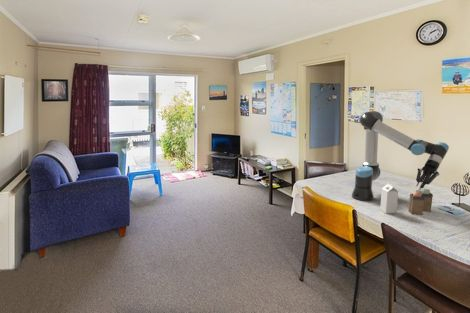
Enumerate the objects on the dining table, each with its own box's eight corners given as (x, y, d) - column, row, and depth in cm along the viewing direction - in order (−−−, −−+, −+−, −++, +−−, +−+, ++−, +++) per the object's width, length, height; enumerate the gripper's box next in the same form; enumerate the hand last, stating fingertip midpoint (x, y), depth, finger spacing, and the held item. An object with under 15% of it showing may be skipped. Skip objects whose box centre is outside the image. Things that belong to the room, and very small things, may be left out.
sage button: (420, 194, 196) (420, 188, 195) (427, 194, 195) (428, 189, 194) (422, 196, 191) (423, 190, 191) (430, 196, 190) (431, 191, 190)
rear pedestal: (416, 207, 199) (418, 191, 197) (427, 208, 197) (429, 191, 195) (419, 211, 193) (421, 194, 190) (430, 212, 191) (432, 194, 189)
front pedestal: (408, 210, 194) (410, 193, 192) (419, 211, 192) (421, 194, 190) (411, 214, 188) (413, 196, 186) (422, 215, 186) (424, 197, 184)
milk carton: (390, 209, 197) (392, 182, 193) (396, 213, 190) (399, 185, 186) (380, 209, 197) (382, 182, 193) (385, 213, 190) (388, 185, 186)
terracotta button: (411, 197, 191) (412, 191, 190) (419, 197, 190) (420, 191, 189) (414, 199, 187) (414, 193, 186) (422, 199, 185) (422, 193, 185)
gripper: (445, 168, 188) (429, 197, 183) (424, 164, 199) (408, 192, 194) (442, 160, 184) (426, 190, 179) (421, 157, 195) (404, 185, 190)
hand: (417, 191), depth 187 cm, fingers closed
